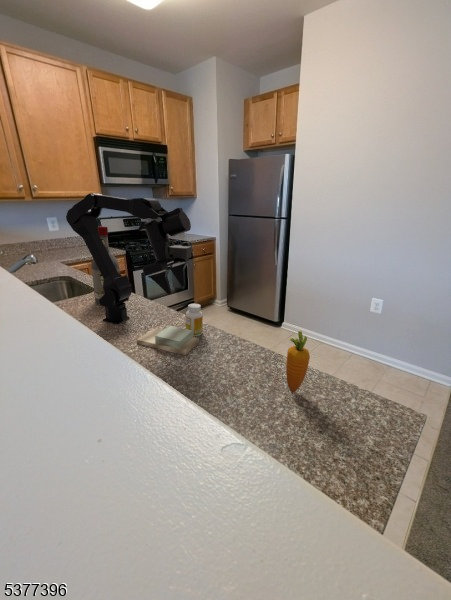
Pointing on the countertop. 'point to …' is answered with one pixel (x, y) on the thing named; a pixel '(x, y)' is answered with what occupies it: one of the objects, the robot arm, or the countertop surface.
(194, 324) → the supplement bottle
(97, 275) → the liquor
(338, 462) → the countertop surface
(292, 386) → the carrot
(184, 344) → the column base
